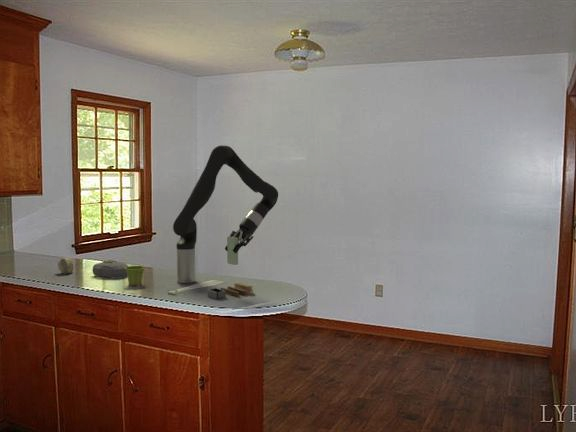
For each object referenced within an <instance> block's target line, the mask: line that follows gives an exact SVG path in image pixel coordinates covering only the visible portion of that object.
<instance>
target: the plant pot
mask: <svg viewBox="0 0 576 432" xmlns="http://www.w3.org/2000/svg"><path fill="white" fill-rule="evenodd" d="M128 266H129V265H128ZM125 269H126V272H127V276H126V277H127V281H128V286H131V287H132V286H140V285H142V284H143V273H144V270H145V266H143V265H130V266H129V267H126V268H125Z"/></svg>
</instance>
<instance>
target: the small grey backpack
mask: <svg viewBox="0 0 576 432" xmlns="http://www.w3.org/2000/svg"><path fill="white" fill-rule="evenodd" d="M126 267H129V265H127V264H126V263H124V262H120V261H116V260H109V259H108V261H106V260H104V261H102V262H98V263H96V264H94V265H93V266H92V271H91V272H92V273H93V276H96V277H98V278H103V279H119V278H120V279H121V278H126V277H128V276H127V272H126V269H125V268H126Z"/></svg>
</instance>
